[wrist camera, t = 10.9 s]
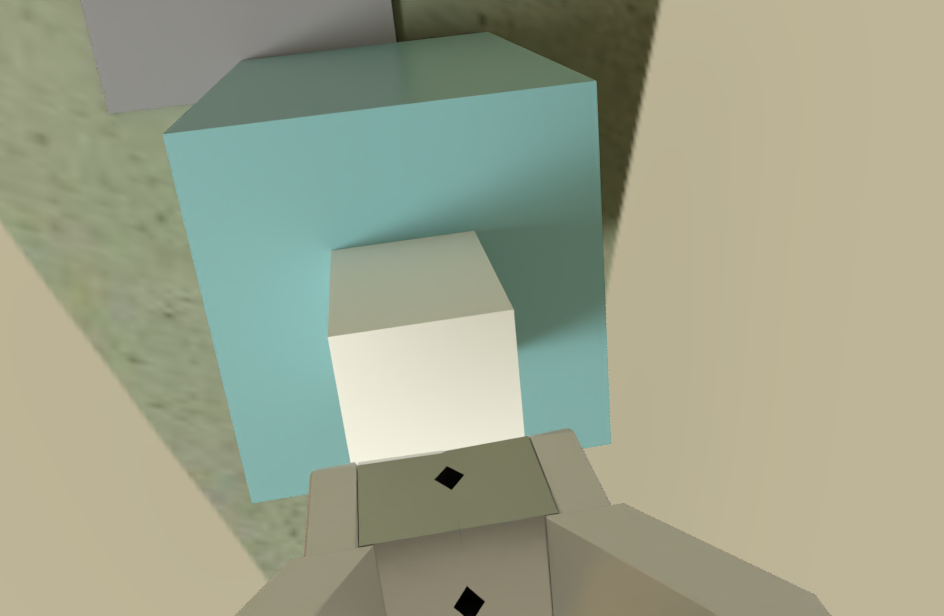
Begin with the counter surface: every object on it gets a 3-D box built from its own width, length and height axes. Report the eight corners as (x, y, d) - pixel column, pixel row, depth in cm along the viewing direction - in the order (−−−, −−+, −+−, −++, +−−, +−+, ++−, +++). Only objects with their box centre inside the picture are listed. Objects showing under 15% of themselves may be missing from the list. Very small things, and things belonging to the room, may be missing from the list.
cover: (241, 60, 28) (102, 191, 12) (487, 31, 29) (677, 116, 13) (287, 292, 32) (228, 645, 15) (507, 260, 33) (678, 563, 16)
